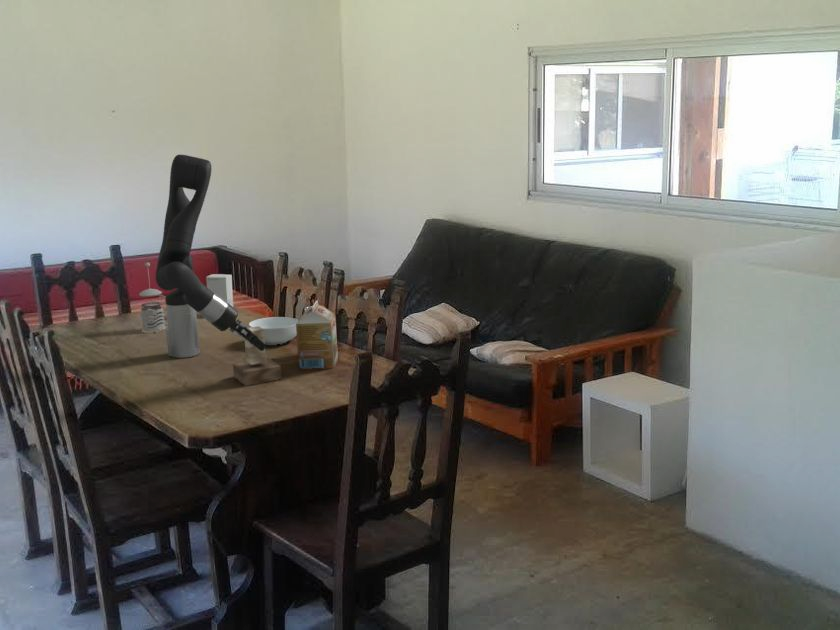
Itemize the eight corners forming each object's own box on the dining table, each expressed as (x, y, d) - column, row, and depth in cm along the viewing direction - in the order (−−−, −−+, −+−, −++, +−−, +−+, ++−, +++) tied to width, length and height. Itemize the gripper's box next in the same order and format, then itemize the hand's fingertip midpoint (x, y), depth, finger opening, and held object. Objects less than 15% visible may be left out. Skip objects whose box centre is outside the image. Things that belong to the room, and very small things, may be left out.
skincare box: (208, 316, 360) (204, 277, 357) (214, 313, 366) (211, 273, 363) (229, 316, 359) (225, 276, 355) (235, 313, 365) (231, 273, 362)
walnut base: (245, 385, 268) (243, 372, 268) (234, 376, 278) (232, 363, 277) (281, 379, 273) (280, 366, 272) (269, 370, 283) (268, 357, 282)
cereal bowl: (267, 351, 306) (265, 330, 304) (240, 343, 318) (239, 322, 316) (310, 341, 316) (308, 321, 315) (283, 333, 329) (281, 314, 327)
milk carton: (304, 359, 294) (300, 300, 290) (337, 358, 293) (334, 299, 289) (299, 369, 283) (294, 307, 279) (333, 368, 283) (330, 306, 279)
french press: (135, 330, 342) (128, 262, 337) (164, 324, 350) (157, 258, 344) (147, 334, 335) (140, 265, 330) (177, 328, 343) (170, 261, 337)
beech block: (250, 365, 272) (248, 331, 269) (246, 361, 276) (243, 328, 273) (266, 362, 274) (263, 329, 271) (261, 359, 278) (258, 326, 275)
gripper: (233, 305, 261) (277, 341, 269) (218, 297, 273) (261, 331, 281) (215, 326, 260) (261, 362, 268) (202, 317, 272) (246, 351, 280)
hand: (261, 346), depth 274 cm, fingers closed on beech block, 4 cm apart
